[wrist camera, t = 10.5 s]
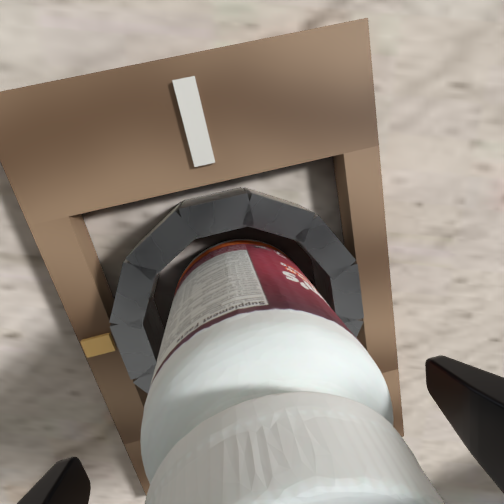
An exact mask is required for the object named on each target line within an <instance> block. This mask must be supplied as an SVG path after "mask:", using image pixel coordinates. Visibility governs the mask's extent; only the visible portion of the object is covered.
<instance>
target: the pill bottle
mask: <svg viewBox="0 0 504 504" xmlns="http://www.w3.org/2000/svg"><path fill="white" fill-rule="evenodd" d="M393 420H394V419H393V408H392V402H391V397H390V393H389V390H388V387H387V384H386V382H385V379H384V377H383V375H382V373H381V371H380V369H379V368H378V366H377V365H376V363H375V362H374V360H373V359H372V358H371V356H370V355H369V353H368V352H367V350H366V349H365V348H364V347H363V345H362V344H361V342H360V341H359V340H358V339H357V338H356V337H355V336H354V335H353V333H352V332H351V331H350V330H349V329H348V328H347V327H346V325H345V324H344V323H343V322H342V320H341V319H340V318H339V317H338V316H337V315H336V313H335V312H334V311H333V310H332V309H331V308H330V306H329V305H328V304H327V302H326V301H325V300H324V299H323V298H322V296H321V295H320V294H319V292H318V291H317V290H316V288H315V287H314V286H313V285H312V284H311V282H310V281H309V280H308V278H307V277H306V276H305V275H304V274H303V273H302V271H301V270H300V269H299V268H298V267H297V265H296V264H295V263H294V262H293V261H292V260H291V259H290V258H289V257H288V256H287V255H286V254H285V253H284V252H282V251H281V250H280V249H278V248H276V247H274V246H272V245H270V244H268V243H265V242H262V241H258V240H252V239H234V240H228V241H225V242H221V243H218V244H216V245H214V246H211V247H209V248H208V249H206V250H204V251H203V252H202V253H200V254H199V255H198V256H196V257H195V258H194V259H193V260H192V261H191V263H190V264H189V265H188V266H187V267H186V269H185V271H184V272H183V274H182V276H181V278H180V280H179V282H178V284H177V288H176V291H175V294H174V298H173V302H172V306H171V310H170V313H169V317H168V321H167V325H166V328H165V332H164V336H163V339H162V343H161V347H160V351H159V355H158V359H157V363H156V366H155V370H154V374H153V377H152V381H151V385H150V388H149V392H148V396H147V399H146V402H145V406H144V412H143V419H142V425H141V439H140V443H141V455H142V461H143V465H144V469H145V473H146V476H147V478H148V481H149V483H150V486H149V490H148V493H147V496H146V501H145V504H445V503H444V501H443V500H442V498H441V497H440V495H439V494H438V492H437V491H436V489H435V488H434V486H433V485H432V483H431V482H430V480H429V479H428V477H427V476H426V474H425V473H424V471H423V470H422V469H421V467H420V465H419V464H418V462H417V460H416V458H415V456H414V454H413V453H412V451H411V450H410V448H409V447H408V445H407V444H406V443H405V441H404V440H403V438H402V437H401V435H400V434H399V433H398V432H397V430H396V429H395V428H394V427H393Z"/></svg>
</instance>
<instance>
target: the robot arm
mask: <svg viewBox="0 0 504 504" xmlns="http://www.w3.org/2000/svg"><path fill="white" fill-rule="evenodd" d="M425 366H426V384H427V388H428V391H429V393H430V395H431V396H432V398H433V399H434V401H435V402H436V403H437V405H438V406H439V408H440V409H441V411H442V412H443V414H444V415H445V417H446V418H447V420H448V421H449V422H450V424H451V425H452V427H453V428H454V430H455V431H456V433H457V434H458V436H459V437H460V439H461V440H462V441H463V443H464V444H465V446H466V447H467V448H468V450H469V451H470V453H471V454H472V455H473V456H474V458H475V459H476V460H477V461H478V463H479V464H480V465H481V466H482V467H483V469H484V470H485V471H486V472H487V474H488V475H489V476H490V477H491V478H492V480H493V481H494V482H495V483H496V485H497V486H498V487H499V488H500V489H501V491H502V492H503V493H504V378H503V377H500V376H498V375H495V374H492V373H489V372H487V371H484V370H481V369H478V368H476V367H473V366H470V365H468V364H465V363H462V362H459V361H457V360H454V359H451V358H448V357H446V356H436V357H433V358H429V359H427V360H426V364H425ZM89 496H90V480H89V478H88V476H87V474H86V472H85V470H84V468H83V466H82V464H81V462H80V460H79V459H78V458H77V457H71V458H67V459H64V460H61V461H58V462H57V463H56V464H55V465H54V466H53V467H52V468H51V469H50V470H49V471H48V472H47V473H46V474H45V475H44V476H43V477H42V478H41V479H40V480H39V481H38V482H37V483H36V484H35V485H34V486H33V487H32V488H31V489H30V491H29V492H28V493H27V494H26V495H25V496H24V497H23V498H22V499H21V500H20V501H19V502H18V503H17V504H88V502H89Z"/></svg>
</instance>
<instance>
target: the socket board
mask: <svg viewBox="0 0 504 504" xmlns="http://www.w3.org/2000/svg"><path fill="white" fill-rule="evenodd" d="M331 156H333V161H334V169H335V177H336V185H337V192H338V200H339V208H340V215H341V223H342V231H343V238H344V245H343V244H342V243H341V242H340V240H339V239H338V238H337V237H336V236H335V234H334V233H333V232H332V231H331V230H330V228H329V227H328V226H327V225H326V224H325V222H324V221H323V220H322V219H321V218H320V217H319V215H317V214H315V213H314V212H312V211H310V210H308V209H306V208H304V207H302V206H300V205H298V204H295V203H292V202H289V201H286V200H283V199H280V198H277V197H273V196H270V195H267V194H264V193H261V192H258V191H255V190H251V189H248V188H244V190H243V189H242V188H241V187H240V188H235V189H231V190H227V191H222V192H218V193H213V194H209V195H205V196H200V197H196V198H192V199H187V200H184V201H183V203H181V202H180V203H179V204H178V205H177V206H176V207H175V208H174V209H173V210H172V211H171V212H170V213H169V214H168V215H167V216H166V217H165V218H164V219H163V220H161V221H160V222H159V223H158V224H157V225H156V226H155V227H154V228H153V229H152V230H151V231H150V232H149V233H148V234H147V235H146V236H145V237H144V238H143V239H142V240H141V241H140V242H139V243H138V244H137V245H136V246H135V248H134V249H133V250H132V251H131V252H130V254H129V255H128V256H127V257H126V260H125V261H124V262H123V265H122V270H121V274H120V278H119V283H118V287H117V291H116V296H115V300H114V299H113V296H112V293H111V291H110V288H109V285H108V283H107V280H106V277H105V275H104V272H103V270H102V267H101V264H100V262H99V259H98V256H97V254H96V251H95V249H94V246H93V243H92V241H91V238H90V235H89V233H88V230H87V227H86V225H85V222H84V220H83V217H82V213H86V212H91V211H95V210H99V209H104V208H108V207H112V206H117V205H121V204H126V203H130V202H134V201H139V200H143V199H147V198H152V197H156V196H161V195H165V194H169V193H174V192H178V191H182V190H187V189H191V188H196V187H200V186H204V185H209V184H213V183H217V182H222V181H226V180H231V179H235V178H239V177H244V176H248V175H252V174H257V173H261V172H266V171H270V170H274V169H279V168H283V167H287V166H292V165H296V164H301V163H305V162H309V161H314V160H318V159H322V158H327V157H331ZM0 162H1V164H2V166H3V169H4V171H5V173H6V175H7V178H8V180H9V182H10V185H11V187H12V189H13V192H14V194H15V196H16V198H17V201H18V203H19V205H20V208H21V210H22V212H23V214H24V217H25V219H26V221H27V224H28V226H29V228H30V230H31V233H32V235H33V237H34V240H35V242H36V244H37V247H38V249H39V251H40V253H41V256H42V258H43V260H44V263H45V265H46V267H47V269H48V272H49V274H50V276H51V279H52V281H53V283H54V285H55V288H56V290H57V292H58V295H59V297H60V299H61V302H62V304H63V306H64V308H65V311H66V313H67V315H68V318H69V320H70V322H71V324H72V327H73V329H74V331H75V334H76V336H77V338H78V340H79V343H80V345H81V347H82V350H83V352H84V354H85V357H86V359H87V361H88V363H89V366H90V368H91V370H92V373H93V375H94V377H95V379H96V382H97V384H98V386H99V389H100V391H101V393H102V395H103V398H104V400H105V402H106V405H107V407H108V409H109V412H110V414H111V416H112V418H113V421H114V423H115V425H116V428H117V430H118V432H119V434H120V437H121V439H122V441H123V444H124V446H125V448H126V451H127V453H128V455H129V457H130V460H131V462H132V464H133V467H134V469H135V471H136V473H137V476H138V478H139V480H140V483H141V485H142V487H143V489H144V492H145V494H146V496H147V493H148V490H149V486H150V483H149V481H148V478H147V476H146V473H145V469H144V465H143V461H142V455H141V443H140V439H141V425H142V419H143V412H144V406H145V402H146V399H147V396H148V392H149V388H150V385H151V381H152V377H153V374H154V370H155V366H156V363H157V359H158V355H159V351H160V347H161V343H162V339H163V336H164V332H165V331H164V328H163V325H162V322H161V319H160V316H159V313H158V310H157V307H156V304H155V301H154V298H153V296H154V293H155V289H156V285H157V281H158V277H159V274H160V271H161V270H162V269H163V268H164V267H165V266H166V265H167V264H168V263H170V262H171V261H172V260H173V259H174V258H175V257H176V256H177V255H178V254H179V253H180V252H181V251H182V250H183V249H184V248H185V247H187V246H188V245H189V244H190V243H191V242H192V241H193V240H194V239H197V238H202V237H206V236H210V235H214V234H218V233H222V232H227V231H231V230H235V229H239V228H243V227H248V226H249V227H252V228H256V229H259V230H262V231H266V232H269V233H273V234H276V235H280V236H283V237H286V238H290V239H293V240H295V241H296V242H297V243H298V244H299V245H300V246H301V247H302V249H303V250H304V251H305V252H306V253H307V254H308V255H309V256H310V258H311V261H312V267H313V273H314V279H315V285H316V290H317V291H318V292H319V294H320V295H321V296H322V298H323V299H324V300H325V301H326V302H327V304H328V305H329V306H330V308H331V309H332V310H333V311H334V312H335V313H336V315H337V316H338V317H339V318H340V319H341V320H342V322H343V323H344V324H345V325H346V327H347V328H348V329H349V330H350V331H351V332H352V333H353V335H354V336H355V337H356V338H357V339H358V340H359V341H360V342H361V344H362V345H363V347H364V348H365V349H366V350H367V352H368V353H369V355H370V356H371V358H372V359H373V360H374V362H375V363H376V365H377V366H378V368H379V369H380V371H381V373H382V375H383V377H384V379H385V382H386V384H387V387H388V390H389V393H390V397H391V402H392V408H393V419H394V420H393V427H394V428H395V429H396V430H397V432H398V433H399V434H400V435H401V437H403V436H404V430H403V418H402V407H401V395H400V384H399V372H398V361H397V349H396V338H395V326H394V315H393V303H392V292H391V280H390V269H389V257H388V246H387V234H386V223H385V211H384V199H383V188H382V176H381V165H380V153H379V142H378V130H377V119H376V107H375V96H374V84H373V73H372V61H371V50H370V38H369V27H368V18H364V19H359V20H354V21H349V22H344V23H340V24H335V25H330V26H325V27H320V28H315V29H310V30H305V31H300V32H295V33H290V34H285V35H280V36H275V37H270V38H265V39H260V40H255V41H250V42H245V43H240V44H235V45H230V46H225V47H220V48H215V49H210V50H205V51H200V52H195V53H190V54H185V55H180V56H175V57H170V58H165V59H160V60H155V61H151V62H146V63H141V64H136V65H131V66H126V67H121V68H116V69H111V70H106V71H101V72H96V73H91V74H86V75H81V76H76V77H71V78H66V79H61V80H56V81H51V82H46V83H41V84H36V85H31V86H26V87H21V88H16V89H11V90H6V91H1V92H0Z"/></svg>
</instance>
